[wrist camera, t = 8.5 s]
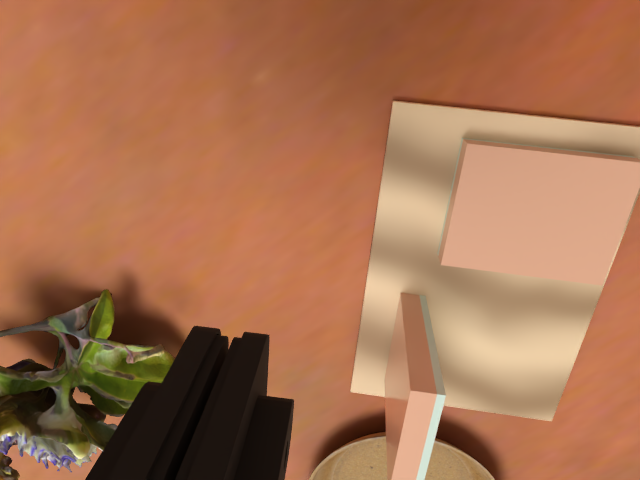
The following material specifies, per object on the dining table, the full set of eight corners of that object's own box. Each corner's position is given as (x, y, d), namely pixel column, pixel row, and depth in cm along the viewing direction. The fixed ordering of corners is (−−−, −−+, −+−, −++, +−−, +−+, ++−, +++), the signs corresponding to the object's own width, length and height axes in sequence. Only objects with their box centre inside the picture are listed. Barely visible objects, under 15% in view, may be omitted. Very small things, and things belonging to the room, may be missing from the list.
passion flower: (114, 329, 41) (-78, 400, 32) (128, 224, 34) (-112, 275, 25) (190, 443, 36) (-14, 569, 26) (225, 346, 29) (-34, 470, 19)
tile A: (467, 143, 24) (649, 163, 23) (461, 137, 25) (632, 156, 24) (440, 265, 26) (602, 285, 26) (437, 253, 28) (589, 272, 27)
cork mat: (392, 100, 25) (393, 101, 25) (657, 128, 24) (663, 129, 24) (350, 386, 33) (350, 391, 33) (548, 414, 32) (551, 421, 32)
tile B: (400, 292, 29) (410, 390, 21) (425, 295, 29) (446, 395, 21) (384, 379, 32) (387, 496, 24) (407, 383, 32) (419, 501, 24)
